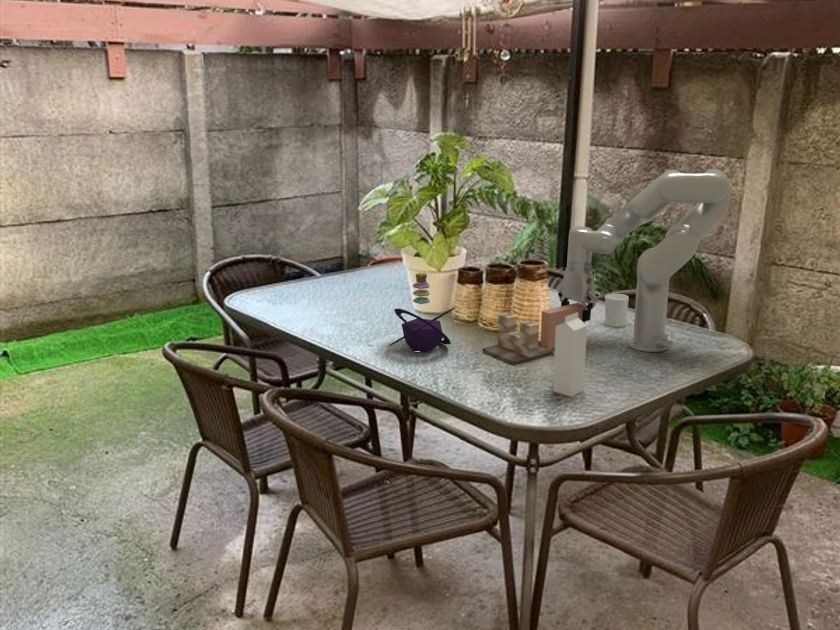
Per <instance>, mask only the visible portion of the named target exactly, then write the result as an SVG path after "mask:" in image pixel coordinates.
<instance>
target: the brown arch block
mask: <svg viewBox="0 0 840 630" xmlns="http://www.w3.org/2000/svg"><path fill="white" fill-rule="evenodd" d="M583 309H584V307H583V305H582V303H580V302H575V303H571V304H570V303H569V305H566V306H561V305H560V306H557V307H553V308H549V309H545V310H542V311H541V319H540V320H541V323H540V324H541V325H540V326H541V327H540V346H541V347H544V348H546V349H549V350H553V349H555V333H556V326H557V325H560V324H562V323H564V322H565V317H566V316H569V315H572V314H574V313H577V312H578V318H579V319H580V320H581V321H582V312H583ZM582 322H583V321H582ZM583 323H584V324H586V321H585V322H583Z"/></svg>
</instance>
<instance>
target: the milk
mask: <svg viewBox="0 0 840 630" xmlns="http://www.w3.org/2000/svg"><path fill="white" fill-rule="evenodd" d="M587 329H588V326H587V324H586V323H585V324H584V323H583V322H582V321H581V320H580V319H579V318H578V312H577V313H574V314H572V315H569V316H566V317H565V322H564V323H562V324H560V325H557V326H556V333H555V348H554V361H553V363H554V364H553V389H552V390H553V392H554V393H557V394H561V395H564V396H567V397H570V398H571V397H574V396H576V395H577V394H580V393H583V391H584V389H585V388H584V387H585V370H586V368H585V367H586V351H587V350H586V349H587V347H586V346H587V332H588V331H587Z"/></svg>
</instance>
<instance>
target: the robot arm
mask: <svg viewBox="0 0 840 630" xmlns="http://www.w3.org/2000/svg"><path fill="white" fill-rule="evenodd" d="M731 194H732V193H731V184H730V180H729V177H728V175H727V174H726V173H725V172H723V171H722V170H721V169H716V168H711V169H708V170H706V171H705V172H702V173H700V172H699V173H683V172H682V171H680V170H677V169H669V170H667V171H665V172H663V173H661V174H660V176H658V177H657V178H656V179H654V180H653V181H652V182H650V184H649V185H647V186H646V187H645V188H644V189H643V190H641V192H639V193H638V194H637V195H636V196H635V197H634V198H632V199H631V200H629V202H628V203H626V205H625V206H623V207H622V208H621V209H619V211H617V212H616V213H615V214H614V215H613V216H612V217H610V218H609V219H608V220H607V221H606V222H605V223H603V224H602V225H601V226H600V227H598V229H597V230H594V229H592V228H591V227H587V226H573V227H571V228H570V229H569V233H568V242H567V243H568V246H567V260H566V267H565V270H564V274H563V279H562V284H560V285H558V286H556V291H557V296H558V298H559V301H560V307H561V306H566V305H570V301H575V303H581V304H582V305H583V307H584V309H583V312H582V321H583V322H585V323H586V322H588V321H591V317H592V316H591V315H592V313H591V312H592V310H593V309H594V308H595V307H596V305H597V303H598V301H599V298H598V297H597V295H596V294H594V289H595V287H594V275H593V274H594V273H593V271H591V270H593V266H592V254H593V253H596V254H601V255H609V254H611V253H612V252H614V251H615V249H616V248H617V245H618V243H619V242H620V241H622V240H623V239H624V238H626V236H628V235H629V234H630V233H632V231H634V230H635V229H636V228H638V227H640V226H642V225H644V224H647V223H649V222H650V221H652V220H654V218H655V217H657V216H658V215H659V214H660V213H662V212H663V211H664V210H665V209H667V208H668V207H669V206H670V205H671V204H672V203H680V204H681V203H682V204H683V203H684V204H691V203H693V204H695V205H694V206H693V207H692V208H691V209H690V210H689V212H687V214H685V215H684V216H683V217H682V218H681V219H679V221H678V222H677V223H675V224H674V225H673V226H672V227H670V228H669V229H668V230H667V231H666V233H665V236H664V239H662V240H661V241H660V242H659V243H658V244H657V245H656V246H655V247H651V248H647V249H646V250H644V251H643V252H642V253H641V255H640V256H639V258H638V261H637V268H636V272H637V273H636V274H637V281H636V292H635V293H636V294H635V304H634V305H635V309H634V321H633V322H634V324H633V336H632V337H631V338H629V339H628V340H627V345H628V346H629V347H630V348H631V349H634V350H637V351H640V352H647V353H657V352H658V353H659V352H665V351H666V350H668V349H671V348H672V346H673V345H674V341H673V340H670V339H668V334H667V333H666V326H667V325H666V322H667V313H668V312H667V310H668V300H669V291H670V289H669V287H670V278H671V277H672V276H673V275H674V274H676V272H677V271H679V270H680V269H681V268H682V267H684V265H686V264H687V263H688V262H689V260H691V259H692V258H693V256H694V255H695V254H696V252H697V250H698V248H699V243H700V242H701V241H702V240H703V239H704V238H705V237H706V236H707V235H708V234H709V233H710V232H711V231H712V230H713V229H714V228H715V227H716V226H717V225H718V224H720V222H721V220H722V219H723V218H724V217H725V215H726V213H727V211H728V209H729V206H730V201H731V196H732V195H731ZM569 300H570V301H569Z"/></svg>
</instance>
